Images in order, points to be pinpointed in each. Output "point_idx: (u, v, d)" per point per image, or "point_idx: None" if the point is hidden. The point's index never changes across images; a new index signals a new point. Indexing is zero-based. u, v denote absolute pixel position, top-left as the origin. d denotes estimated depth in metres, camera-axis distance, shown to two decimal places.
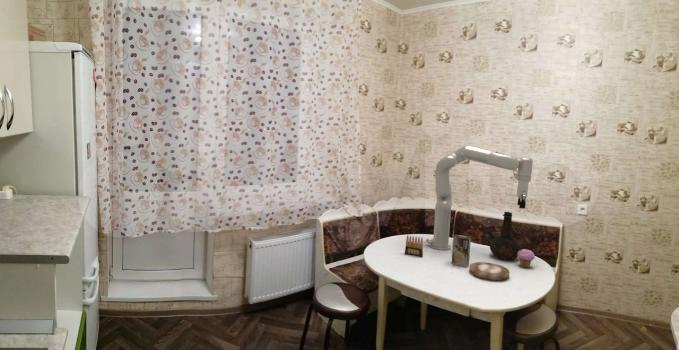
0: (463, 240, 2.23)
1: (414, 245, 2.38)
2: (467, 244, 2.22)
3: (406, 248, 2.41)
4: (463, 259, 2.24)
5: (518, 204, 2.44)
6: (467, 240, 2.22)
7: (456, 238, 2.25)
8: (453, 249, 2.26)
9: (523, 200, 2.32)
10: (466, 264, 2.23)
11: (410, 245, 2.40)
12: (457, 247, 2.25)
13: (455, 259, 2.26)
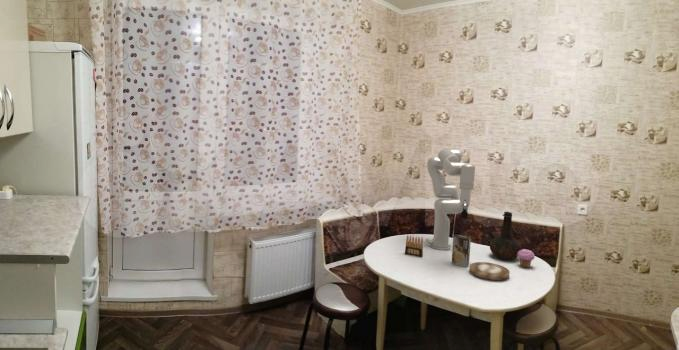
0: (463, 240, 2.23)
1: (414, 245, 2.38)
2: (467, 244, 2.22)
3: (406, 248, 2.41)
4: (463, 259, 2.24)
5: None
6: (467, 240, 2.22)
7: (456, 238, 2.24)
8: (453, 249, 2.26)
9: (464, 210, 2.17)
10: (466, 264, 2.23)
11: (410, 245, 2.40)
12: (457, 247, 2.25)
13: (455, 259, 2.26)
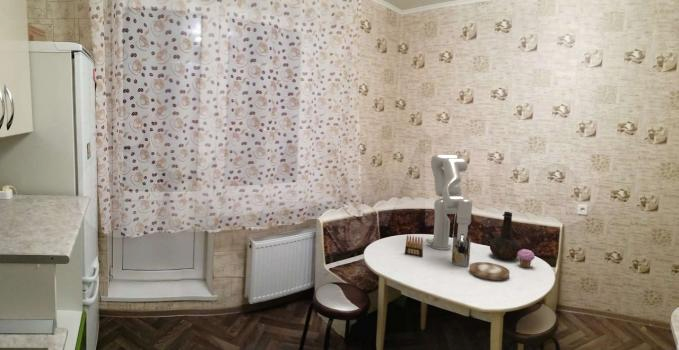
0: (463, 240, 2.23)
1: (414, 245, 2.38)
2: (467, 244, 2.22)
3: (406, 248, 2.41)
4: (463, 259, 2.24)
5: None
6: (467, 240, 2.22)
7: (456, 238, 2.24)
8: (453, 249, 2.26)
9: (461, 245, 2.21)
10: (466, 264, 2.23)
11: (410, 245, 2.40)
12: (457, 247, 2.25)
13: (455, 259, 2.26)
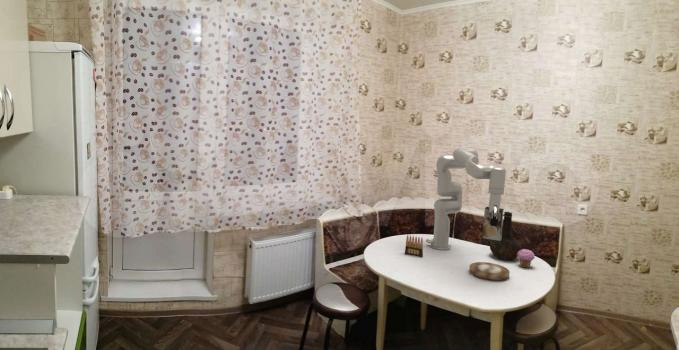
0: None
1: (414, 245, 2.38)
2: (500, 216, 2.05)
3: (406, 248, 2.41)
4: (496, 233, 2.07)
5: None
6: (500, 212, 2.05)
7: (488, 210, 2.08)
8: (484, 222, 2.09)
9: (494, 217, 2.04)
10: (499, 238, 2.07)
11: (410, 245, 2.40)
12: (489, 220, 2.08)
13: (486, 233, 2.09)
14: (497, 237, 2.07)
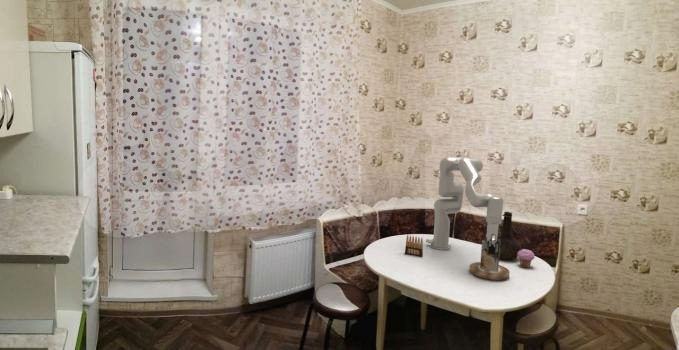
0: None
1: (414, 245, 2.38)
2: (497, 247, 2.08)
3: (406, 248, 2.41)
4: (493, 264, 2.09)
5: None
6: (498, 243, 2.07)
7: (485, 241, 2.10)
8: (482, 253, 2.11)
9: (492, 245, 2.05)
10: (496, 269, 2.09)
11: (410, 245, 2.40)
12: (486, 251, 2.10)
13: (484, 264, 2.11)
14: (494, 268, 2.09)
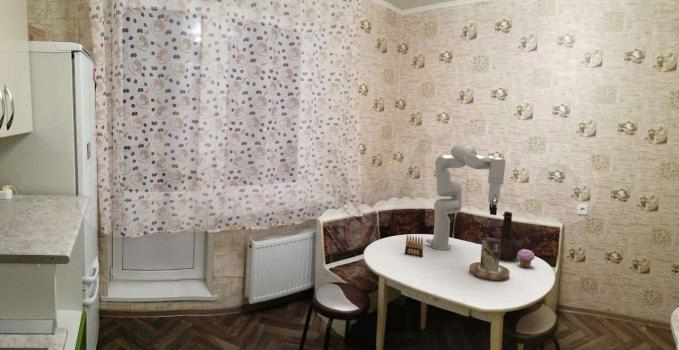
0: (493, 243, 2.08)
1: (414, 245, 2.38)
2: (497, 247, 2.08)
3: (406, 248, 2.41)
4: (493, 264, 2.09)
5: (490, 210, 2.16)
6: (498, 243, 2.07)
7: (485, 241, 2.10)
8: (482, 253, 2.11)
9: (494, 205, 2.04)
10: (496, 269, 2.09)
11: (410, 245, 2.40)
12: (486, 251, 2.10)
13: (484, 264, 2.12)
14: (494, 268, 2.09)
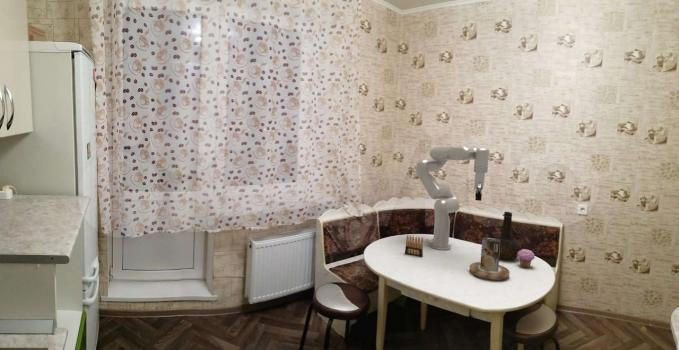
0: (493, 243, 2.08)
1: (414, 245, 2.39)
2: (497, 247, 2.08)
3: (406, 248, 2.41)
4: (493, 264, 2.09)
5: (476, 196, 2.37)
6: (498, 243, 2.07)
7: (485, 241, 2.10)
8: (482, 253, 2.11)
9: (479, 192, 2.25)
10: (496, 269, 2.09)
11: (410, 245, 2.40)
12: (486, 251, 2.10)
13: (484, 264, 2.12)
14: (494, 268, 2.09)
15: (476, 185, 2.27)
